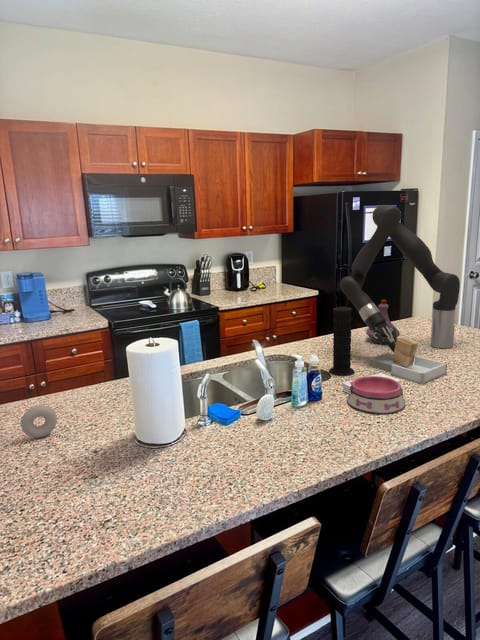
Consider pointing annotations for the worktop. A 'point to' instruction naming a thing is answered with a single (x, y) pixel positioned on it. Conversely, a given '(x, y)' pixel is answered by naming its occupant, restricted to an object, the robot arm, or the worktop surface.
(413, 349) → the oak block
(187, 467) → the worktop surface
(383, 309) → the flask
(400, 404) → the dog bowl
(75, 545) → the worktop surface
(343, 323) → the handle grip
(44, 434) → the donut
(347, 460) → the worktop surface
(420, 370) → the tray
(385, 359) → the grey square slab
